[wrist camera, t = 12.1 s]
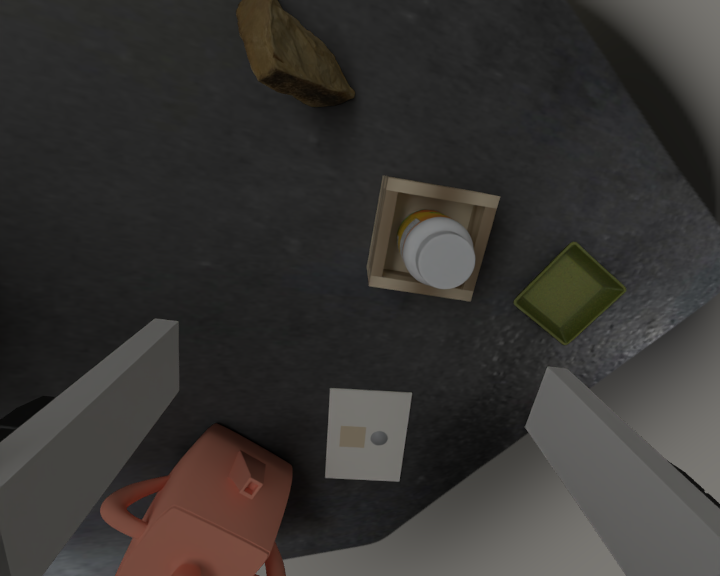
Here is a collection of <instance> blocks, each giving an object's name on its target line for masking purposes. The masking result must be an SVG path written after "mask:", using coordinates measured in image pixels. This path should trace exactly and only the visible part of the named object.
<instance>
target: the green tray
mask: <svg viewBox="0 0 720 576" xmlns="http://www.w3.org/2000/svg"><path fill="white" fill-rule="evenodd" d="M625 292H626V288H625V286H624V285H623V284H622V283H620V282H619V281H618V280H617V279H616V278H615V277H614V276H613V275H612V274H610V273H609V272H608V271H607V270H606V269H605V268H604V267H603V266H602V265H600V264H599V263H598V262H597V261H596V260H595V259H594V258H593V257H592V256H591V255H590V254H589V253H587V251H586V250H584V249H583V248H582V247H581V246H580V245H579V244H578V243H577V242H572V243H570V244H569V245H568V246H566V247H565V248H564V249H563V250H562V252H561V253H560V254H559V255H558V256H557V257H556V258H555V259H554V260H553V261H552V262H551V263H550V264H549V265H548V266H547V267H546V268H545V269H544V270H543V271H542V272H541V273H540V274H539V275H538V276H537V277H536V278H535V279H534V280H533V281H532V282H531V283H530V284H529V285H528V286H527V287H526V288H525V289H524V290H523V291H522V292H521V293H520V294H519V295H518V296H517V297H516V298H515V300H514V302H513V303H514V305H515V306H516V307H517V308H519V309H520V310H521V311H522V312H523V313H525V314H526V315H527V316H528V317H530V318H531V319H532V320H533V321H535V322H536V323H537V324H538V325H540V326H541V327H542V328H543V329H544V330H546V331H547V332H548V333H549V334H551V335H552V336H553V337H554V338H555V339H557V340H558V341H559V342H560V343H561V344H563V345H567V344H569V343H570V342H571V341H573V340H574V339H575V338H576V337H577V336H578V335H579V334H580V333H581V332H582V331H583V330H584V329H586V328H587V327H588V326H589V325H590V324H591V323H592V322H593V321H594V320H595V319H596V318H598V317H599V316H600V315H601V314H602V313H603V312H604V311H605V310H606V309H608V308H609V307H610V306H611V305H612V304H613V303H614V302H615V301H616V300H617V299H618V298H620V297H621V296H622V295H623V294H624V293H625Z"/></svg>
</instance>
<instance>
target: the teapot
mask: <svg viewBox="0 0 720 576" xmlns="http://www.w3.org/2000/svg"><path fill="white" fill-rule="evenodd" d="M291 484H292V465H291V464H289V463H288V462H286V461H285V460H283V459H281V458H280V457H278V456H276V455H275V454H273V453H271V452H269V451H268V450H266V449H264V448H262V447H261V446H259V445H257V444H256V443H254V442H252V441H250V440H248V439H246V438H245V437H243V436H241V435H239V434H237V433H235V432H234V431H232V430H230V429H228V428H226V427H224V426H222V425H220V424H217V423H216V424H213V425H212V426H211V427H210V428H208V429H207V430H206V431H205V432H204V433H203V434H202V435H201V437H200V438H199V439H198V440H197V441H196V442H195V443H194V444H193V446H192V447H191V448H190V449H189V450H188V451H187V452H186V454H185V455H184V456H183V457H182V458H181V460H180V461H179V462H178V463H177V465H176V466H175V467H174V469H173V470H172V471H171V473H170V474H169V475H168V476H163V477H158V478H154V479H149V480H145V481H141V482H137V483H134V484H131V485H128V486H125V487H123V488H121V489H119V490H117V491H116V492H114V493H112V494H111V495H110V496H108V497H107V498H106V499H105V500H104V502H103V503H102V505H101V509H100V513H101V516H102V518H103V519H104V520H105V522H106V523H108V524H109V525H110V526H112V527H113V528H115V529H116V530H118V531H120V532H122V533H124V534H126V535H128V536H130V537H133V539H132V541H131V543H130V545H129V547H128V549H127V551H126V553H125V555H124V558H123V560H122V562H121V564H120V566H119V568H118V570H117V573H116V575H115V576H259V575H256V574H255V573H256V572H257V571H258V570H259V569H260V567H261V566H262V565H263V564H264V563H265V566H266V574H267V576H286V574H285V568H284V563H283V560H282V557H281V555H280V552H279V550H278V547H277V545H276V543H275V538H276V536H277V533H278V530H279V527H280V524H281V521H282V518H283V514H284V511H285V508H286V504H287V501H288V497H289V493H290V488H291ZM155 492H158V493H157V494H156V496H155V498H154V500H153V501H152V503H151V505H150V507H149V508H148V510H147V512H146V514H145V516H144V517H143V519H142V520H141V519H139V518H137V517H135V516H133V515H132V514H131V513H129V512H128V511H127V507H128V506H129V505H131V504H132V503H134V502H136V501H137V500H139V499H141V498H143V497H145V496H147V495H150V494H153V493H155Z"/></svg>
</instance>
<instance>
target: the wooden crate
mask: <svg viewBox="0 0 720 576" xmlns="http://www.w3.org/2000/svg"><path fill="white" fill-rule="evenodd" d="M499 199H500V196H495V195H490V194H485V193H481V192H476V191H470V190H464V189H458V188H453V187H447V186H441V185H435V184H429V183H424V182H418V181H412V180H406V179H400V178H394V177H389V176H383V178H382V183H381V189H380V195H379V200H378V206H377V212H376V217H375V223H374V229H373V234H372V240H371V246H370V252H369V257H368V263H367V273H368V282H369V286H372V287H379V288H385V289H392V290H398V291H405V292H412V293H418V294H425V295H431V296H438V297H444V298H451V299H458V300H464V301H471V298H472V295H473V291H474V288H475V284H476V281H477V277H478V273H479V270H480V266H481V263H482V259H483V256H484V252H485V249H486V245H487V242H488V238H489V234H490V231H491V227H492V224H493V220H494V217H495V213H496V210H497V206H498V203H499ZM422 209H431V210H435V211H438V212H440V213H442V214H444V215H446V216H448V217H450V218H451V219H453V220H455V221H457V222H458V223H460V224H461V225H462V226H463V227H464V228H465V229H466V230H467V231H468V233H469V234H470V236H471V239H472V242H473V248H474V253H475V267H474V270H473V272H472V274H471V275H470V277H469V278H468V279H467V280H466V281H465V282H464V283H463V284H461V285H459V286H457V287H455V288H452V289H438V288H435V287H432V286H429V285H425V284H423V283H421V282H419V281H417V280H416V279H415V278H414V277H413V276H412V275H411V274H410V273H409V271H408V270H407V268H406V266H405V264H404V262H403V259H402V257H401V255H400V253H399V251H398V248H397V243H396V236H397V231H398V228H399V226H400V224H401V222H402V221H403V220H404V219H405V218H406V217H407V216H408V215H410V214H411V213H413V212H415V211H418V210H422Z"/></svg>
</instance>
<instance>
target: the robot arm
mask: <svg viewBox="0 0 720 576" xmlns="http://www.w3.org/2000/svg"><path fill="white" fill-rule="evenodd" d="M178 392H179V321H171V320H163V319H154V320H152V321H151V322H150V323H149V324H147V325H146V326H145V327H144V328H142V329H141V330H140V331H139V332H137V333H136V334H135V335H134V336H132V337H131V338H130V339H129V340H127V341H126V342H125V343H124V344H122V345H121V346H120V347H119V348H117V349H116V350H115V351H114V352H112V353H111V354H110V355H109V356H107V357H106V358H105V359H104V360H102V361H101V362H100V363H99V364H97V365H96V366H95V367H94V368H92V369H91V370H90V371H89V372H87V373H86V374H85V375H84V376H82V377H81V378H80V379H79V380H77V381H76V382H75V383H74V384H72V385H71V386H70V387H69V388H67V389H66V390H65V391H64V392H62V393H61V394H60V395H59V396H57V397H49V396H42V397H40V398H38V399H35V400H33V401H31V402H29V403H27V404H25V405H22V406H20V407H18V408H16V409H15V410H13V411H12V412H11V413H9V414H8V415H6V416H5V417H4V418H2V419H1V420H0V576H42V575H43V574H44V573H45V571H46V570H47V569H48V567H49V566H50V565H51V563H52V562H53V561H54V559H55V558H56V557H57V555H58V554H59V552H60V551H61V550H62V548H63V547H64V546H65V544H66V543H67V542H68V540H69V539H70V538H71V536H72V535H73V534H74V532H75V531H76V530H77V528H78V527H79V525H80V524H81V523H82V521H83V520H84V519H85V517H86V516H87V515H88V513H89V512H90V511H91V509H92V508H93V507H94V505H95V504H96V502H97V501H98V500H99V498H100V497H101V496H102V494H103V493H104V492H105V490H106V489H107V488H108V486H109V485H110V484H111V482H112V481H113V480H114V478H115V477H116V475H117V474H118V473H119V471H120V470H121V469H122V467H123V466H124V465H125V463H126V462H127V461H128V459H129V458H130V457H131V455H132V454H133V452H134V451H135V450H136V448H137V447H138V446H139V444H140V443H141V442H142V440H143V439H144V438H145V436H146V435H147V434H148V432H149V431H150V430H151V428H152V427H153V425H154V424H155V423H156V421H157V420H158V419H159V417H160V416H161V415H162V413H163V412H164V411H165V409H166V408H167V407H168V405H169V404H170V402H171V401H172V400H173V398H174V397H175V396H176V394H177V393H178ZM525 428H526V430H527V431H528V433H529V434H530V435H531V437H532V438H533V440H534V441H535V443H536V444H537V446H538V447H539V448H540V450H541V452H542V453H543V454H544V456H545V457H546V459H547V460H548V462H549V463H550V465H551V466H552V468H553V469H554V471H555V472H556V474H557V475H558V476H559V478H560V479H561V481H562V482H563V484H564V485H565V487H566V488H567V489H568V491H569V492H570V494H571V495H572V497H573V498H574V500H575V501H576V503H577V504H578V506H579V507H580V509H581V510H582V512H583V513H584V515H585V516H586V517H587V519H588V520H589V522H590V523H591V525H592V526H593V528H594V529H595V531H596V532H597V534H598V535H599V537H600V538H601V539H602V541H603V542H604V544H605V545H606V547H607V548H608V549H609V551H610V552H611V554H612V556H613V557H614V559H615V560H616V561H617V563H618V564H619V566H620V567H621V569H622V570H623V572H624V573H625V575H626V576H720V504H719V503H718V502H717V501H716V500H715V499H714V498H713V497H712V496H711V495H709V494H708V493H705V492H704V489H703V488H702V487H701V486H700V485H698V484H697V483H696V482H695V481H694V480H693V479H692V478H691V477H689V476H688V475H687V474H686V473H685V472H684V471H682V470H681V469H679V468H678V467H676V466H675V465H673V464H672V463H670V462H669V461H667V460H666V459H665V458H664V457H663V456H662V455H660V454H659V453H658V452H657V451H656V450H655V449H654V448H653V447H652V446H651V445H650V444H649V443H647V442H646V441H645V440H644V439H643V438H642V437H641V436H640V435H639V434H638V433H637V432H635V431H634V430H633V429H632V428H631V427H630V426H629V425H628V424H627V423H626V422H625V421H624V420H622V419H621V418H620V417H619V416H618V415H617V414H616V413H615V412H614V411H613V410H612V409H610V408H609V407H608V406H607V405H606V404H605V403H604V402H603V401H602V400H601V399H600V398H598V397H597V396H596V395H595V394H594V393H593V392H592V391H591V390H590V389H589V388H588V387H587V386H585V385H584V384H583V383H582V382H581V381H580V380H579V379H578V378H577V377H576V376H575V375H574V374H572V373H571V372H570V371H569V370H568V369H566V368H558V367H549V366H548V367H547V369H546V372H545V375H544V377H543V380H542V383H541V385H540V388H539V391H538V393H537V396H536V399H535V402H534V404H533V407H532V410H531V412H530V415H529V418H528V420H527V423H526V426H525Z"/></svg>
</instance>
